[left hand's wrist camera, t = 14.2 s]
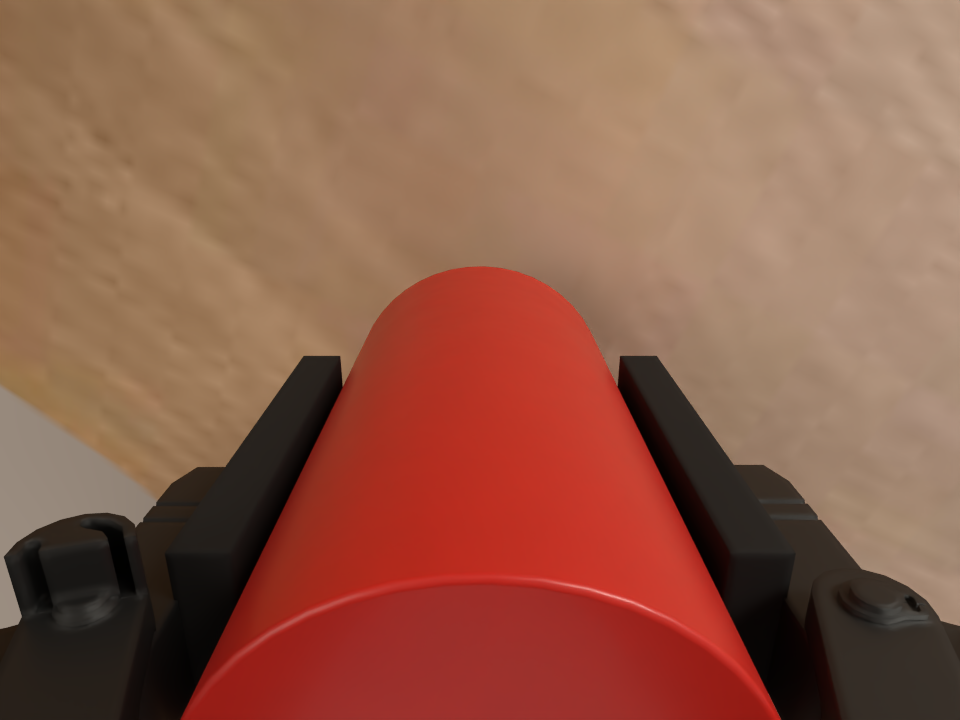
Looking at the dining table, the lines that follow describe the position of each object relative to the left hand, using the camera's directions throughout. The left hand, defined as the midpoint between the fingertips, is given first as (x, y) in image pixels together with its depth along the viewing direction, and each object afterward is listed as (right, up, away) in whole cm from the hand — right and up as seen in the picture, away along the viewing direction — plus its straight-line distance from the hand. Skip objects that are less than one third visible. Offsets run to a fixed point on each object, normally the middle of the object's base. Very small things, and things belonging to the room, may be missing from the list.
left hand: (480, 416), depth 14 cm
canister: (0, +1, +2) cm, 2 cm away
